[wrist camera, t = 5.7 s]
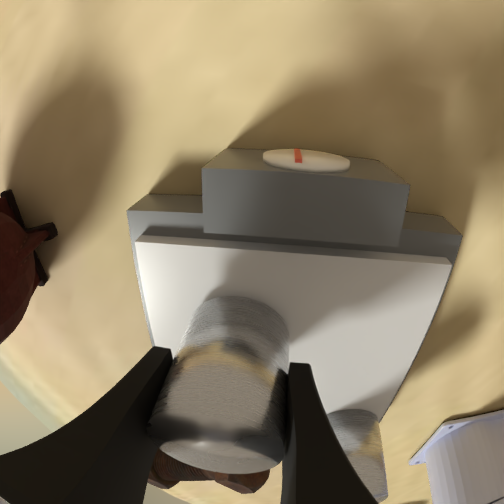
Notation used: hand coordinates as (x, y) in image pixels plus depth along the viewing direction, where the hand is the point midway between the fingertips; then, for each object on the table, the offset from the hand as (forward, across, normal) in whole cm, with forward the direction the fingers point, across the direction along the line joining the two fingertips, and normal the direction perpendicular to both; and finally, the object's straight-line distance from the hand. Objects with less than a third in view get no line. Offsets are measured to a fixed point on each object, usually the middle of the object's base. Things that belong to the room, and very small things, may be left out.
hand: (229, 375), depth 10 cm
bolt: (+6, +5, +18) cm, 19 cm away
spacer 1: (+2, 0, 0) cm, 2 cm away
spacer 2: (+3, -6, +8) cm, 10 cm away
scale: (+5, -2, +2) cm, 6 cm away
